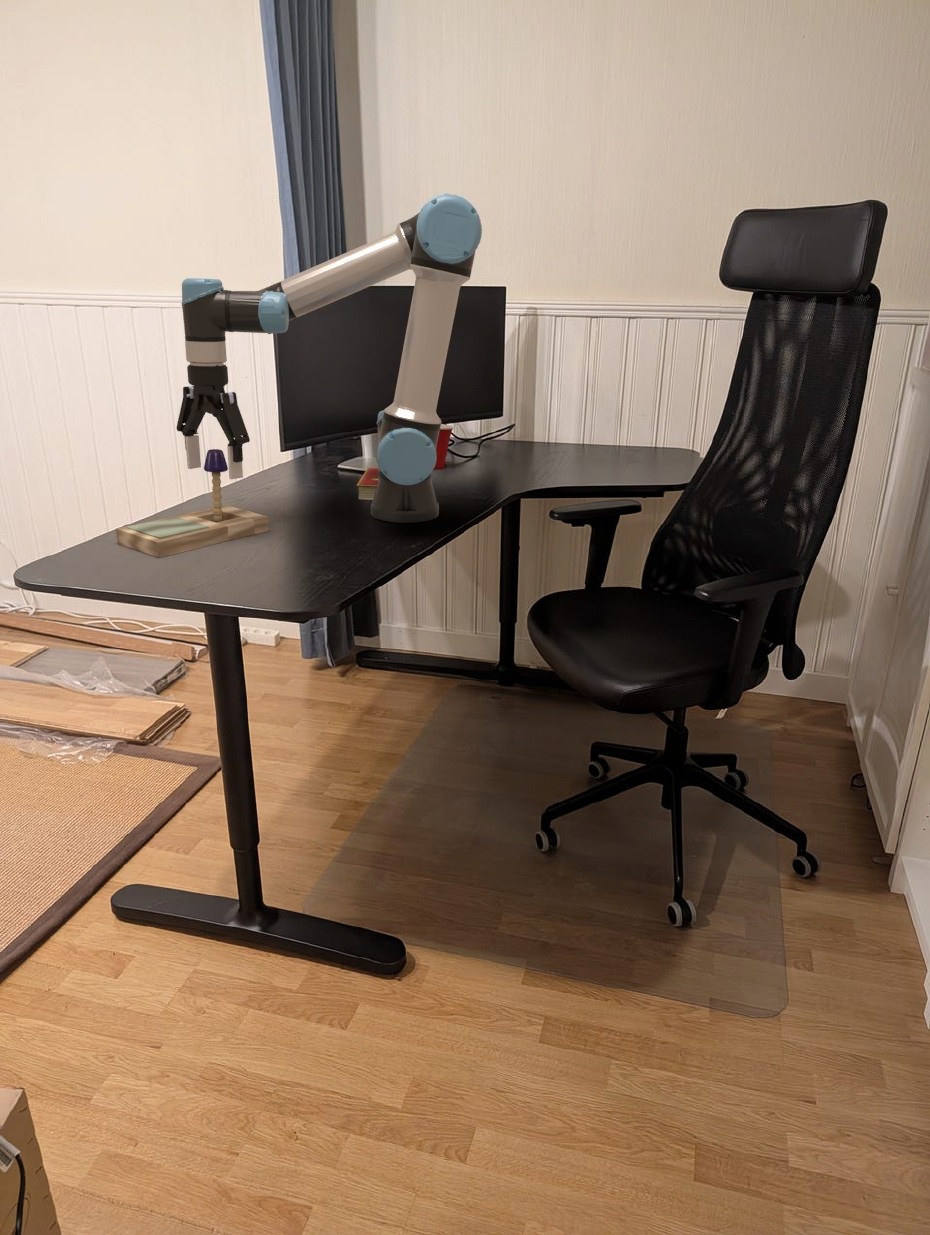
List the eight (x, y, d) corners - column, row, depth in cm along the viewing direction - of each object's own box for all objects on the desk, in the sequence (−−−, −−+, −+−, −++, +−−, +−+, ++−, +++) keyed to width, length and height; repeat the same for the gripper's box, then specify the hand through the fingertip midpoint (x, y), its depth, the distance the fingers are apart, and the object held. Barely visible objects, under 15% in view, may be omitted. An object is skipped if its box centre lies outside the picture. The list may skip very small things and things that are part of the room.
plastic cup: (461, 467, 252) (462, 423, 247) (437, 472, 243) (437, 428, 239) (431, 461, 258) (432, 419, 253) (407, 467, 250) (406, 423, 245)
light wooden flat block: (269, 530, 186) (268, 515, 184) (159, 557, 167) (157, 540, 165) (227, 518, 194) (225, 503, 193) (117, 543, 175) (115, 527, 174)
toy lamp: (229, 527, 188) (223, 447, 182) (234, 532, 184) (229, 451, 178) (205, 529, 185) (199, 448, 179) (211, 535, 182) (204, 452, 176)
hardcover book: (414, 483, 232) (414, 467, 231) (407, 502, 213) (407, 485, 211) (368, 482, 233) (367, 466, 231) (356, 501, 213) (356, 484, 212)
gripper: (264, 368, 168) (270, 479, 176) (185, 357, 183) (193, 461, 190) (231, 370, 163) (238, 485, 170) (152, 359, 177) (162, 466, 185)
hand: (214, 473), depth 180 cm, fingers open, 13 cm apart
